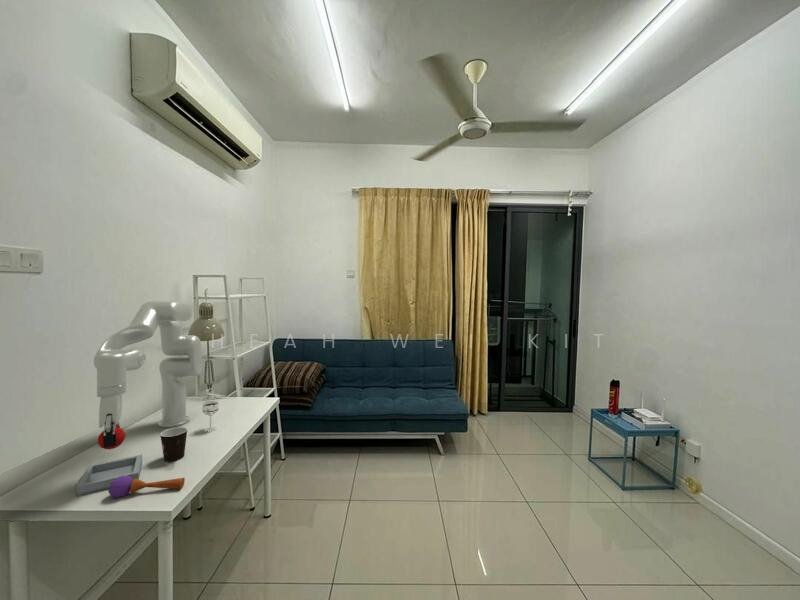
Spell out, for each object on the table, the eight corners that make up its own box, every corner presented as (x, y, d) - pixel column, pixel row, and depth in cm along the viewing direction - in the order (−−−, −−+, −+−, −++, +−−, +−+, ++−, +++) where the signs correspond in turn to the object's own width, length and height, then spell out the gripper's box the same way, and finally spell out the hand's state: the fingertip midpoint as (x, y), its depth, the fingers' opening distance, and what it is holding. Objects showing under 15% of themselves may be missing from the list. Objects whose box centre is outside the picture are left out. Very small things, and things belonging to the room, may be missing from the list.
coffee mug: (164, 454, 131) (164, 428, 131) (189, 450, 134) (189, 425, 134) (154, 469, 120) (154, 441, 120) (182, 464, 123) (182, 438, 123)
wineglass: (210, 425, 159) (210, 400, 158) (222, 427, 157) (222, 401, 157) (198, 431, 152) (198, 405, 152) (210, 433, 150) (210, 406, 150)
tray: (88, 473, 116) (87, 465, 116) (142, 462, 124) (142, 454, 124) (77, 496, 104) (76, 486, 104) (138, 481, 112) (138, 472, 112)
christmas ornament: (130, 445, 116) (130, 417, 115) (105, 454, 109) (105, 424, 109) (117, 442, 118) (117, 414, 118) (92, 451, 111) (92, 421, 111)
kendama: (179, 482, 105) (103, 485, 100) (179, 498, 107) (104, 502, 102) (186, 468, 111) (115, 471, 106) (186, 484, 112) (115, 488, 107)
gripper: (102, 385, 118) (102, 435, 119) (91, 398, 104) (91, 455, 104) (129, 382, 123) (129, 431, 123) (122, 394, 108) (122, 449, 108)
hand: (111, 441), depth 113 cm, fingers closed on christmas ornament, 7 cm apart
